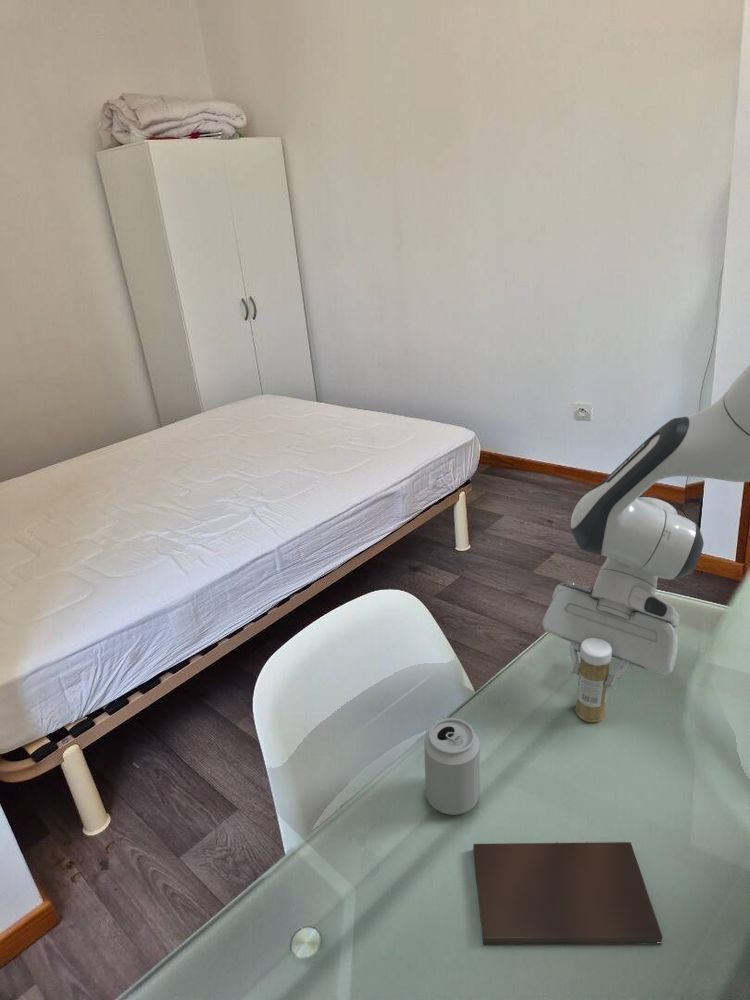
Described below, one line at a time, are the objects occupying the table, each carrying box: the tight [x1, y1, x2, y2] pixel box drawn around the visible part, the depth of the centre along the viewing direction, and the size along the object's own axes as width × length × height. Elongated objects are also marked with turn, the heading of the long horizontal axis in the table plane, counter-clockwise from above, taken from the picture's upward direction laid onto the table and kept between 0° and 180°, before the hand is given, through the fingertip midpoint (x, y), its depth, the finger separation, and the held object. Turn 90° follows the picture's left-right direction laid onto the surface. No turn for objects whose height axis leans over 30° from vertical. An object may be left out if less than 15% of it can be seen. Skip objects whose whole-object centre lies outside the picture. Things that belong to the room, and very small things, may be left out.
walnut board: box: [472, 841, 664, 945], centre depth 83 cm, size 20×12×1 cm, turn 88°
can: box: [423, 717, 481, 816], centre depth 94 cm, size 8×8×12 cm
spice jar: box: [575, 638, 613, 723], centre depth 106 cm, size 5×5×14 cm
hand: (592, 680), depth 106 cm, fingers closed on spice jar, 4 cm apart
